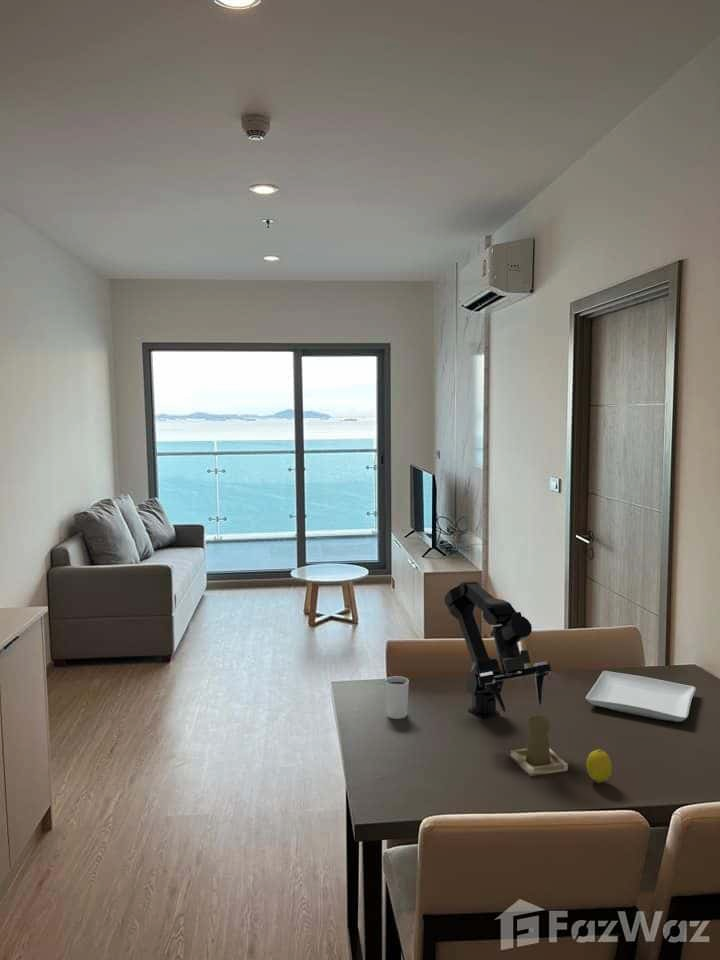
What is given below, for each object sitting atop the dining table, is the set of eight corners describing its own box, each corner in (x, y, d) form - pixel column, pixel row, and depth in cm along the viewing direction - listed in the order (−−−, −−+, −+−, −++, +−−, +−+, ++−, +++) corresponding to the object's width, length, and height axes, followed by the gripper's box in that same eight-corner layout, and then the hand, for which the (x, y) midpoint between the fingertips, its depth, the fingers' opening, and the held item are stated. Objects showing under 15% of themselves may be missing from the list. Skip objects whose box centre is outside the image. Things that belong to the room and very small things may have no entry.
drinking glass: (403, 708, 209) (403, 675, 208) (412, 717, 203) (412, 683, 202) (381, 711, 207) (382, 677, 206) (389, 720, 201) (390, 686, 200)
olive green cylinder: (546, 769, 172) (547, 725, 171) (521, 762, 176) (522, 719, 175) (554, 759, 177) (555, 716, 176) (530, 753, 181) (531, 710, 180)
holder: (510, 756, 180) (510, 750, 180) (546, 751, 183) (546, 745, 182) (529, 776, 170) (530, 769, 170) (567, 770, 173) (567, 764, 173)
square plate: (686, 730, 196) (687, 716, 195) (583, 710, 209) (584, 697, 209) (695, 696, 219) (696, 684, 219) (602, 680, 233) (603, 668, 232)
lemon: (582, 777, 170) (583, 744, 169) (605, 776, 170) (606, 743, 170) (591, 789, 164) (592, 755, 164) (615, 788, 165) (616, 754, 164)
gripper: (472, 648, 185) (486, 710, 178) (544, 634, 184) (561, 696, 177) (473, 657, 195) (486, 716, 188) (541, 644, 194) (557, 703, 187)
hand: (522, 708), depth 185 cm, fingers open, 9 cm apart
